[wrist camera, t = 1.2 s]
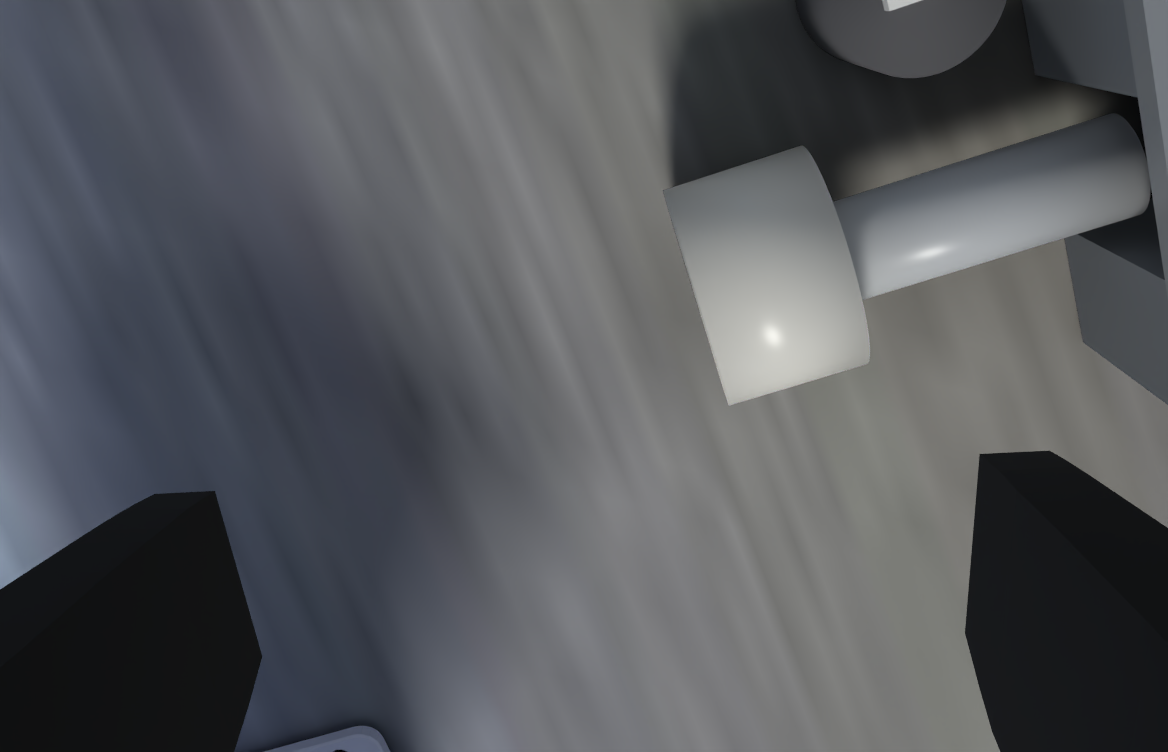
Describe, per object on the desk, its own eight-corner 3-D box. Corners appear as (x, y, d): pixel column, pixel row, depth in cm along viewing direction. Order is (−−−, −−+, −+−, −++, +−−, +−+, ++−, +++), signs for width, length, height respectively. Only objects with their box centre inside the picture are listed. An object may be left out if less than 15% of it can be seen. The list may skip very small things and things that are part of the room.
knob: (714, 361, 22) (740, 441, 18) (657, 172, 21) (671, 216, 17) (1091, 246, 21) (1200, 305, 17) (1056, 41, 20) (1166, 56, 16)
